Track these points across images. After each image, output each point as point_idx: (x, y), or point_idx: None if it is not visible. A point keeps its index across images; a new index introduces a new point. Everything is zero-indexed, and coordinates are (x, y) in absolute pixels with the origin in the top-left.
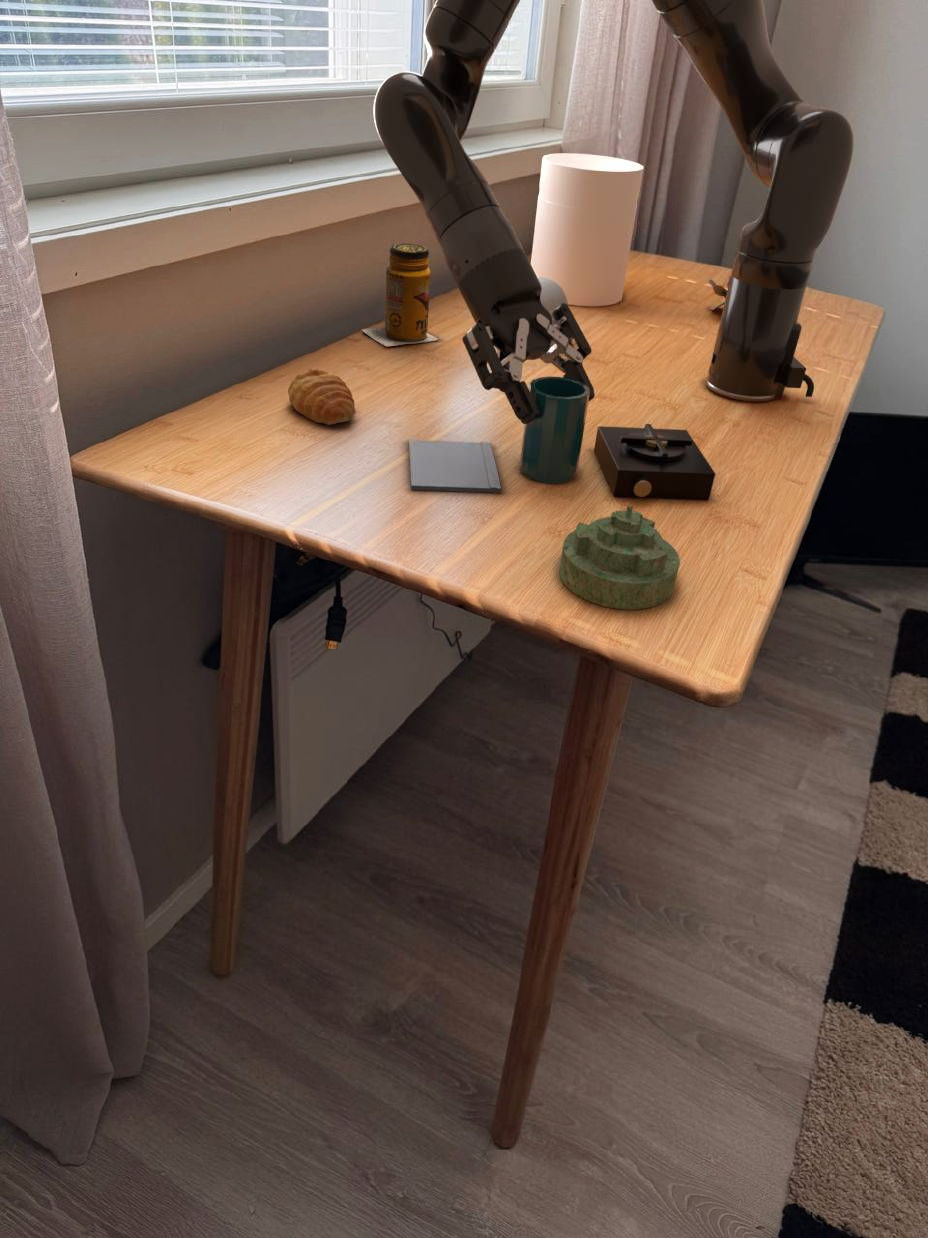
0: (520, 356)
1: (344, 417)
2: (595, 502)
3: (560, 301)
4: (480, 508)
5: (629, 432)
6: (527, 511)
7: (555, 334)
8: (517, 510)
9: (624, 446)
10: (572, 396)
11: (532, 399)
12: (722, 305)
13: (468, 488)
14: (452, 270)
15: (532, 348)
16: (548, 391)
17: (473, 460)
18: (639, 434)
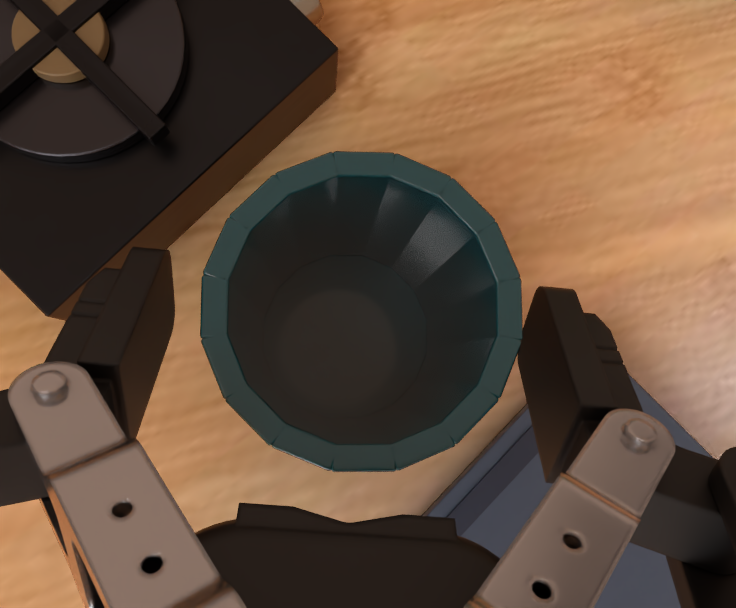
0: (598, 493)
1: None
2: (408, 111)
3: None
4: (703, 318)
5: (3, 196)
6: (610, 215)
7: (154, 536)
8: (628, 238)
9: (144, 137)
10: (237, 311)
11: (563, 329)
12: None
13: (666, 412)
14: None
15: (412, 540)
16: (293, 420)
17: (510, 537)
18: (32, 128)
